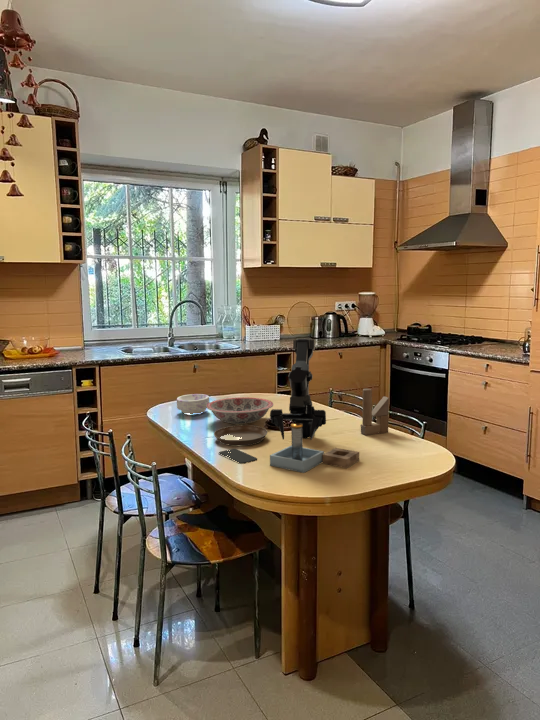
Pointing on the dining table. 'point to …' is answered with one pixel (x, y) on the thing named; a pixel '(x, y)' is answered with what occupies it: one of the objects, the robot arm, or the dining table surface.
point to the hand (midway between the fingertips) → (297, 439)
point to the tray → (285, 460)
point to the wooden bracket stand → (374, 414)
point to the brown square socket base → (340, 457)
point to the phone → (238, 455)
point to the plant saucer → (242, 434)
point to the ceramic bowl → (239, 409)
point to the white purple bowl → (192, 403)
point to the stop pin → (297, 441)
